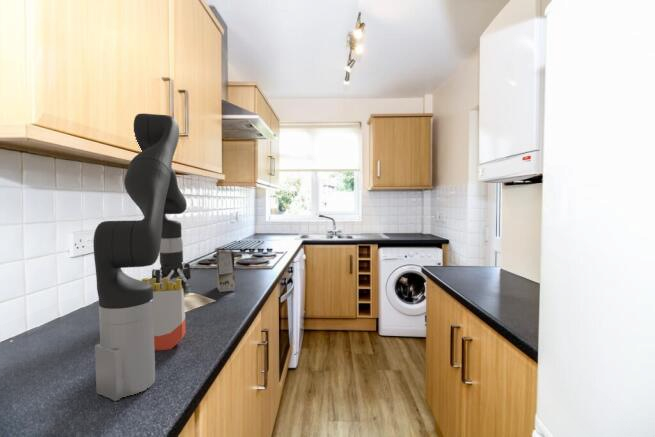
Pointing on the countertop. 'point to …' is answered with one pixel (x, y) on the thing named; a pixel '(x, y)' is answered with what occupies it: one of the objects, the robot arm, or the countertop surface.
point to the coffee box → (225, 270)
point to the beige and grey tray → (194, 299)
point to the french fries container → (168, 313)
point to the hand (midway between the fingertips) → (172, 294)
